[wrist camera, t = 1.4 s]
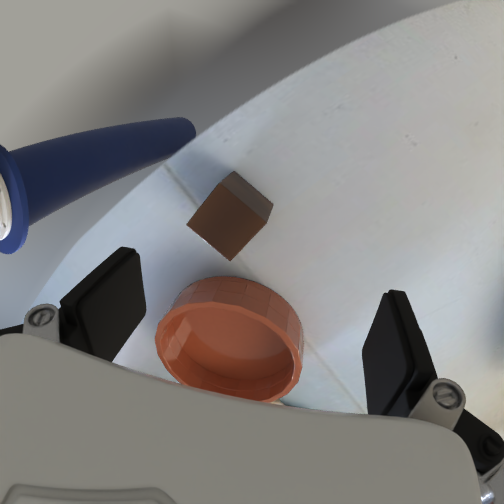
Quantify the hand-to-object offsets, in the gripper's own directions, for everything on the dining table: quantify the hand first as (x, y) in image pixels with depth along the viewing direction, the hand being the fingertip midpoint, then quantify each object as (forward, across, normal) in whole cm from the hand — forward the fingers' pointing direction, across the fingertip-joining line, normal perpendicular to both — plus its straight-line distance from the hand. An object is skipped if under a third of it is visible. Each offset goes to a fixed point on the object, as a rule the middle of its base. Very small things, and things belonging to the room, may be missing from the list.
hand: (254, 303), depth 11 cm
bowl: (+16, +4, +17) cm, 24 cm away
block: (+16, +4, +2) cm, 17 cm away
